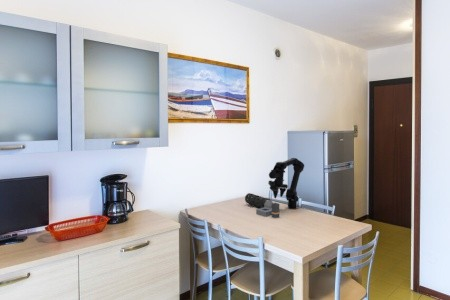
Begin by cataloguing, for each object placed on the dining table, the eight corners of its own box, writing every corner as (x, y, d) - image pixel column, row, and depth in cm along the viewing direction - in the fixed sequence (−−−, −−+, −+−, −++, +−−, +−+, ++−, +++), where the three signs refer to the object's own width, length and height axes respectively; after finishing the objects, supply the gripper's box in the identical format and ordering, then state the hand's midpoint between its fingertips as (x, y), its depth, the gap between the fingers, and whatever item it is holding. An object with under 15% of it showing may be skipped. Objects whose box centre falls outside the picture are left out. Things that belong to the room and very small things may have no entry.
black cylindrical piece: (253, 203, 273) (253, 192, 273) (273, 210, 249) (273, 198, 249) (244, 205, 268) (244, 193, 268) (264, 212, 244) (264, 199, 244)
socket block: (264, 212, 243) (264, 207, 243) (274, 215, 236) (274, 209, 235) (256, 215, 237) (256, 209, 237) (265, 218, 229) (266, 212, 229)
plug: (275, 217, 232) (275, 202, 231) (279, 218, 229) (279, 203, 228) (271, 218, 229) (271, 203, 228) (275, 219, 226) (275, 204, 225)
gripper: (276, 176, 257) (275, 194, 258) (264, 177, 243) (263, 197, 243) (288, 177, 250) (287, 196, 251) (277, 179, 235) (275, 199, 236)
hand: (278, 197), depth 245 cm, fingers open, 9 cm apart
